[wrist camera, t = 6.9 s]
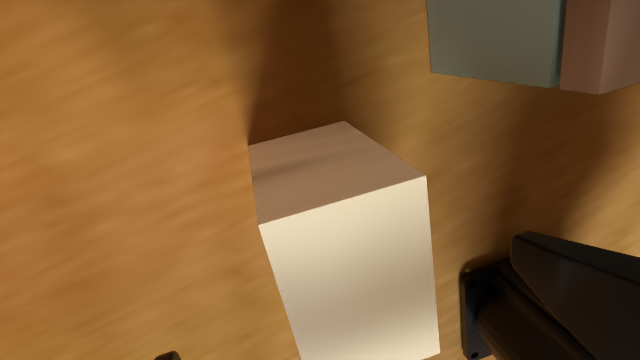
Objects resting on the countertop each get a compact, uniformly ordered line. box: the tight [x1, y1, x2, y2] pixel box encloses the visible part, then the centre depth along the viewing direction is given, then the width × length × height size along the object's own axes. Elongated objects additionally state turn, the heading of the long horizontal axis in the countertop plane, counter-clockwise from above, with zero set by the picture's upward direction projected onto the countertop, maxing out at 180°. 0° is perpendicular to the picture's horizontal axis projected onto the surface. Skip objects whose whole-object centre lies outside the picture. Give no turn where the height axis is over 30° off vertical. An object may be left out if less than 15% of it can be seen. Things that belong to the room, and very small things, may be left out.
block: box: [248, 121, 440, 360], centre depth 12 cm, size 6×4×6 cm, turn 12°
